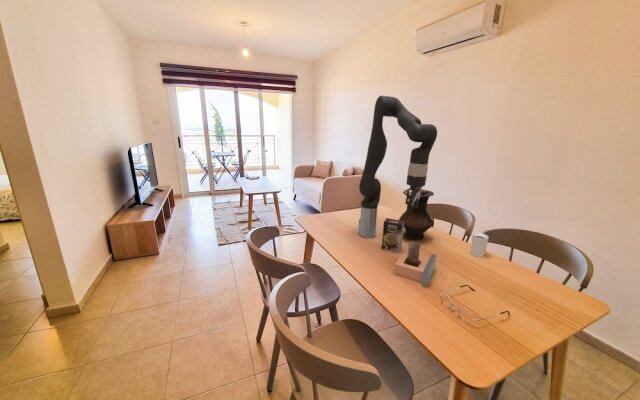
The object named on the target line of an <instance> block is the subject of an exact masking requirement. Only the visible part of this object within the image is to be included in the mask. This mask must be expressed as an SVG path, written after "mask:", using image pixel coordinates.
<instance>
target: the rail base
mask: <svg viewBox="0 0 640 400" xmlns="http://www.w3.org/2000/svg"><path fill="white" fill-rule="evenodd" d="M427 260H428V262H427V264H426V267H425V269H424V272H423V280H422V282H421V286H422V287H426V288H428V286H429V284H430V281H431V280H432V279H431V278H432V276H433V274H434V272H435V269H436V262H437V254H434V253H431V255H430V257H429V259H427Z"/></svg>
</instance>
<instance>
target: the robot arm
mask: <svg viewBox="0 0 640 400" xmlns="http://www.w3.org/2000/svg"><path fill="white" fill-rule="evenodd" d="M373 111H374V112H373V117H372V126H371V127H372V128H371V131H370V132H371V133H370V138H369V142H368V148H367V152H366V159H365V164H364V166H363V167H364V168H363V172H362V175H361V179H360V181H359V185H358V186H359V188H358V189H359V192H360V195H361V196H364V198H363V199H362V200H361V202H360V215H359V216H360V218H359V219H358V227H357V228H358V229H357V231H358V232H357V233H358V234H357V235H358V236H360V237H363V238H367V239H370V238H372V239H373V238H375V237H376V233H377V220H378V219H377V218H378V206H379V203H380V199H381V191H382V185H381V182H380V180H379V179H378V178H376V174H377V171H378V170H379V167H380V166H381V164H382V163H383V161H384V159H385V157H386V153H387V147H388V141H387V138H386V134H385V131H384V126H383V123H384V117H389V118H395V119H397V120H396V121H397V124H398V126H399V127H400V128H401V129H402V130H404V132H406V134H407V137H408V139H409V140H410V141H412V142H414V143H421V144H420V145H419V146H418V147H415V148H413V149H411V153H410V159H409V163H408V164H409V165H408V167H407V168H408V169H407V177H406V185H408V186H409V188H410V186H411V188H410V189H409V188H408V189H409V190H408V191H407V196H406V199H405V205H406V210H405V211H406V213H409V214H411V213H412V209H413V208H415V209H416V208H417V207H418V200H419V198H420V197H421V190H422V189H423V187H425V186H426V181H427V177H428V176H427V175H428V168H429V167H428V165H429V161H430V160H429V157H430V153H431V151H432V149H433V147H434V145H435V143H436V141H437V137H438V129H437V126H435V125H434V124H432V123H431V124H430V123H429V124H427V123H426V124H424V123H422V121H421V119H420V118H419V117H418V116H416V115H414V113H412V112H410V111H409V110H408V108H406V107H405V106H404V104H403V103H402V102H401V101H400V99H398V98H397V97H394V96H388V95H380V96H378V97H377V99H376V101H375V104H374V109H373ZM409 200H411V202H409Z"/></svg>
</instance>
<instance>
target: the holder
mask: <svg viewBox="0 0 640 400" xmlns="http://www.w3.org/2000/svg"><path fill="white" fill-rule="evenodd" d="M407 257H408V253H407V254H406V253H402V254H401V255H400V256H399V258H398V259H397V261H396V262H395V264H394V271H393V274H394V275H397V276H399V277H403V278H407V279H411V280H413V281H417V282H420V283H422V280H423V272H424V269H425V267H426V264H427V262H428V260H429V259H425V258H421V257H419V259H418V267H415V266H411V265H408V264H407Z"/></svg>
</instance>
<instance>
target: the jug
mask: <svg viewBox="0 0 640 400" xmlns="http://www.w3.org/2000/svg"><path fill="white" fill-rule="evenodd" d="M410 188H411V186H410V185H409V187H408V188H406V189H405V190H403V192H402V193H403V195H405V196H406V197H407V191H408V190H409V189H410ZM434 195H435V194H434V192H433V191H430V190H428V189H424V188H422V190H421V197H420V198H419V200H418V207H417V208H416V209H415V208H413V209H412V213H411V214H409V213H406V210H405V211H404V212H403V213H402V214H401V215H400V217H399V218H398V220H401V221H405V222H404V231H405V232H403V237H404V238H406V239H408V240H409V241H422V240H424V239H425V234H424V233H425V232H427V231H428V230H429V229H430V228H432V227H433V226H434V225H435V222H434V220H433V218H432V217H431V215H430V214H429V213H428V210H427V207H428V201H429V199H430V197H432V196H434ZM409 202H411V200H409Z"/></svg>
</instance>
